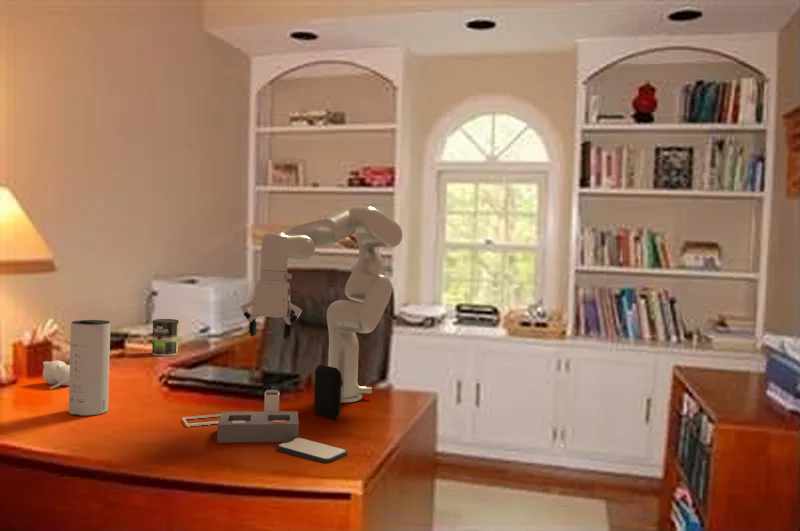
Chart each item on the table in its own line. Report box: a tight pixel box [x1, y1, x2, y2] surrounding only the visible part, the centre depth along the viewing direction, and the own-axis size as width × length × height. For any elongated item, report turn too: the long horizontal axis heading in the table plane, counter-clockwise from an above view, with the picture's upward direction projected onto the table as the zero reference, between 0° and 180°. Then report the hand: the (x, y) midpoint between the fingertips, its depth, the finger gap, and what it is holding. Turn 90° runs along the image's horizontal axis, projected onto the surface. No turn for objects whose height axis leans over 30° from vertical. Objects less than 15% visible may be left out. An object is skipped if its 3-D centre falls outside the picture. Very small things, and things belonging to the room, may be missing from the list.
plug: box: [263, 389, 280, 412], centre depth 190 cm, size 4×4×9 cm
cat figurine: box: [42, 359, 70, 390], centre depth 222 cm, size 9×11×12 cm
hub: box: [216, 410, 300, 444], centre depth 177 cm, size 20×12×5 cm, turn 100°
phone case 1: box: [181, 413, 221, 428], centre depth 188 cm, size 7×1×15 cm
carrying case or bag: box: [313, 364, 343, 420], centre depth 196 cm, size 11×3×15 cm, turn 51°
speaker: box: [68, 319, 111, 417], centre depth 192 cm, size 11×10×26 cm
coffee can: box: [151, 318, 180, 357], centre depth 283 cm, size 10×10×14 cm
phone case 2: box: [276, 437, 348, 464], centre depth 165 cm, size 9×2×16 cm
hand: (269, 336), depth 194 cm, fingers open, 9 cm apart
